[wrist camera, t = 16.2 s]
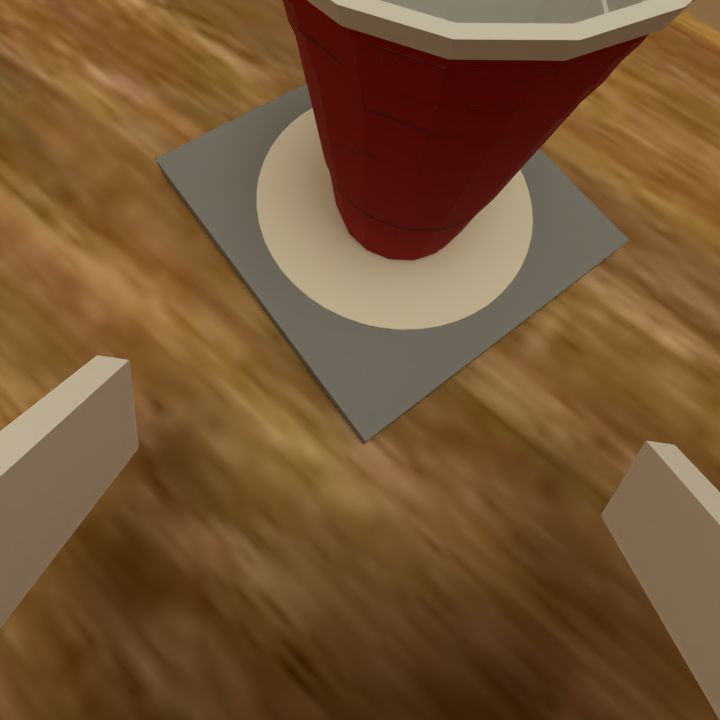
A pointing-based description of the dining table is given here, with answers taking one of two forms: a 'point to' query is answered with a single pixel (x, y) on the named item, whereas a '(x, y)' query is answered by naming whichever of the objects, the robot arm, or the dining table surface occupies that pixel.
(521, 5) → the plastic cup
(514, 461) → the dining table surface
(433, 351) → the square coaster
